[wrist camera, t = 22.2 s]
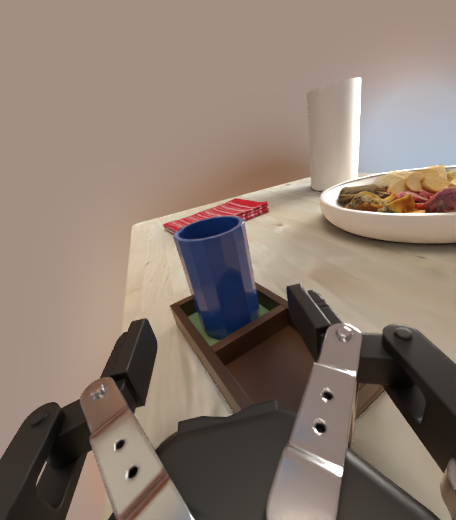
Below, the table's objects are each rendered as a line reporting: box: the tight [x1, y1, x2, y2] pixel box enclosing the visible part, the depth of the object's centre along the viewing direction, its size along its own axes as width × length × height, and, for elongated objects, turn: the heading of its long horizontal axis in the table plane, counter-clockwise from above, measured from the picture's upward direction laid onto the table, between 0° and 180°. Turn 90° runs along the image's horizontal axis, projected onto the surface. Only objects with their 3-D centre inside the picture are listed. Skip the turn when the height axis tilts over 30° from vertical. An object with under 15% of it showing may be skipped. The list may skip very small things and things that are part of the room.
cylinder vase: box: [307, 78, 361, 191], centre depth 65 cm, size 12×12×25 cm
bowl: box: [320, 165, 456, 243], centre depth 38 cm, size 30×30×8 cm
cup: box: [173, 216, 260, 340], centre depth 22 cm, size 6×6×10 cm
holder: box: [170, 282, 385, 419], centre depth 21 cm, size 9×17×3 cm, turn 31°
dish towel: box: [163, 199, 268, 234], centre depth 61 cm, size 17×24×3 cm
